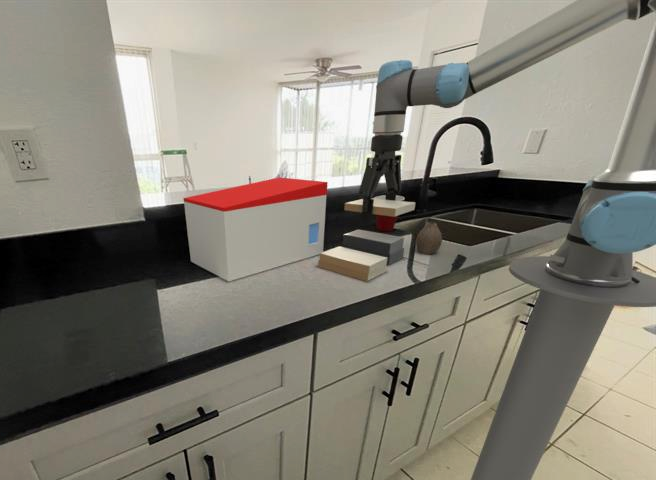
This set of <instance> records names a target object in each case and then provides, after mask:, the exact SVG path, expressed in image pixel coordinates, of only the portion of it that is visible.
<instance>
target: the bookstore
mask: <svg viewBox="0 0 656 480" xmlns="http://www.w3.org/2000/svg"><path fill="white" fill-rule="evenodd" d="M327 195H328V181H322V180H320V181H319V180H311V179H302V178H301V179H300V178H289V177H279V176H278V177H275V178H271V179H266V180H265V179H264V180H261V181H257V182H251V183H247V184H241V185H238V186H233V187H229V188H223V189H219V190H215V191H210V192H205V193H201V194H200V193H199V194H195V195H191V196H187V197H183V205H184V214H185V222H186V231H187V239H188V247H189V256H190V262H191V263H193V264H195V265H197V266H198V267H200V268H202V269H204V270H206V271H208V272H210V273H212V274H214V275H215V276H218V277H219V278H221V279H223V280H225V281H227V282H231V281H236V280H238V279H242V278H244V277H248V276H251V275H254V274H258V273H261V272H265V271H268V270H271V269H274V268H279V267H281V266H285V265H288V264H292V263H295V262H298V261H302V260H305V259H308V258H312V257H315V256H318V255H319V256H320V253H322V252H324V243H325V241H324V240H325V227H326V225H325V224H326V208H327Z"/></svg>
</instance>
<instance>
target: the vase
mask: <svg viewBox="0 0 656 480" xmlns="http://www.w3.org/2000/svg"><path fill="white" fill-rule="evenodd" d="M442 243H443V234H442V233H441V230H440V229H439V227H438V224H437V223H436V222H427V224H426V225H425V226H424V227H423V228H422V229H421V230H420V231H419V232H418V233H417V235H416V238H415V247H416V249H417V251H418V252H419V253H420V254H423V255H433V254H435V253H436V252H438V251H439V250H440V248H441V246H442Z"/></svg>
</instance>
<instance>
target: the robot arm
mask: <svg viewBox="0 0 656 480" xmlns="http://www.w3.org/2000/svg"><path fill="white" fill-rule="evenodd" d="M651 13H655V14H656V0H575V1H573V2H571V3H569V4H568V5H566V6H564V7H562V8H561V9H559V10H557V11H556V12H553V13H552V14H550V15H548V16H546V17H544V18H543V19H541V20H539V21H538V22H536V23H534V24H532V25H531V26H528V27H527V28H525V29H523V30H522V31H520V32H518V33H516V34H515V35H513V36H511V37H509V38H507V39H506V40H504V41H502V42H500V43H498V44H497V45H495V46H493V47H491V48H490V49H488V50H486V51H485V52H483V53H481V54H479V55H477V56H476V57H474V58H472V59H470V60H468V61H467V62H457V63H454V62H450V63H447V64H442V65H436V66H429V67H423V68H413V62H412V61H411V60H409V59H408V60H407V59H400V60H391V61H387V62H385V63H383V64H382V65H381V66H380V67H379V70H378V75H377V82H376V85H375V87H376V88H375V101H374V112H373V113H374V114H373V122H372V131H371V133H372V134H373V136H372V137H371V141H370V151H371V152H372V153H374V156H373V157H367V158H366V162H365V169H364V172H363V176H362V180H361V183H360V186H359V191H358V193H357V197H358V198H359V200H360V199H363V206H362V212H361V218H360V224H365V225H372V222H373V221H372V220H373V214H372V212H373V203H374V199H372V198H374V195H375V192H376V189H377V188H378V185H379V183H380V181H381V178H382V177H383V176H384V180H385V183H386V189H387V193H385V195H386V198H385V200H394V201H395V199H396V195H397V194H401V191H402V170H401V169H402V168H401V167H402V165H401V163H402V155H401V154H396V152H400V151H401V150H402V147H403V146H402V145H403V137H404V136H403V135H402V133H404V131H405V124H406V117H407V108H408V107H418V106H419V107H420V106H430V105H431V106H437V107H440V108H441V109H442V108H443V109H451V108H454V107H457V106H459V105H460V104H462V103H463V102H464V101H465V100H466V99H468V98H471V97H472V96H474V95H476V94H478V93H480V92H481V91H484V90H486V89H488V88H490V87H491V86H494V85H496V84H498V83H500V82H502V81H504V80H506V79H508V78H509V77H512V76H514V75H516V74H518V73H520V72H522V71H524V70H527V69H528V68H530V67H532V66H534V65H536V64H538V63H541V62H543V61H544V60H546V59H548V58H550V57H552V56H554V55H556V54H558V53H561V52H563V51H564V50H567V49H568V48H571V47H572V46H575V45H577V44H579V43H580V42H582V41H585V40H586V39H589V38H591V37H593V36H595V35H597V34H599V33H601V32H603V31H605V30H606V29H609V28H611V27H613V26H615V25H617V24H619V23H621V22H623V21H625V20H630V21H637V20H639V19H641V18H643V17H646V16H647V15H649V14H651ZM642 57H643V58H642V60H641V64H640V66H639V70H638V73H637V76H636V79H635V81H634V86H633V88H632V92H631V95H630V98H629V101H628V104H627V107H626V111H625V113H624V116H623V120H622V123H621V125H620V129H619V132H618V134H617V138H616V142H615V144H614V148H613V150H612V154H611V158H610V160H609V163H608V166H607V168H606V169H605V170H604V171H603V172H602V173H600V174H598V175H596V176H593V177H591V178H590V179H588V181H587V182H586V184H585V186H584V188H583V189H582V195H581V197H580V200H579V202H578V206H577V208H576V211H575V213H574V216H573V219H572V221H571V224H570V226H569V229H568V232H567V234H566V238H565V240H564V241H563V242H562V244H561V245H560V246H559V248H558V249H557V250H556V251H555V252H554V254H550V255H549V256H550V258H549V261H548V262H547V264H546V267H545V271H546V272H547V273H548V274H550V275H552V276H554V277H556V278H559V279H562V280H565V281H568V282H572V283H576V284H581V285H587V286H593V287H602V288H620V287H625V286H628V285H629V283H630V281H631V280H632V281H633V282H635V283H639V282H640V281H639V280H638V279H636V278H634V277H633V276H632V275H633V270H634V268H633V267H634V266H633V263H634V261H633V253H638V252H642V251H644V250H647V249H650V248H652V247H654V246H656V19H654V23H653V26H652V30H651V33H650V35H649V39H648V42H647V45H646V48H645V51H644V55H643V56H642ZM383 216H385V215H383ZM386 217H392V216H386Z"/></svg>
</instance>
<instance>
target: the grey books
mask: <svg viewBox="0 0 656 480" xmlns="http://www.w3.org/2000/svg"><path fill="white" fill-rule="evenodd" d="M404 242H405V237H404V236H398V235H393V234H387V233H382V232H375V231H369V230H363V229H355V230H353V231H350V232H347V233H344V234H343V238H342V247H344V248H348V249H353V250H357V251H361V252H365V253H370V254H374V255H378V256H382V257H387V265H386V266H390V265H392V264H395V263H396V262H398V261H400V260H403V258H404V254H405V253H404V252H405V248H404Z"/></svg>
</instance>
